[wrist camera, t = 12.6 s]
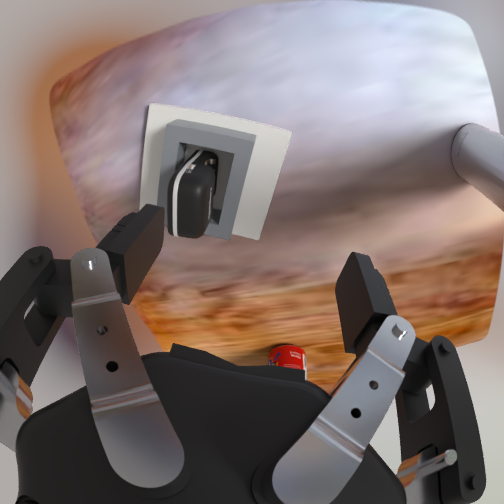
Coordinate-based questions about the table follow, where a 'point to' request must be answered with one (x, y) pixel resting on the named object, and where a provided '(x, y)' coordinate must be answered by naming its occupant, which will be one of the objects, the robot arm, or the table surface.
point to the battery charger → (192, 195)
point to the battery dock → (229, 168)
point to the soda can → (288, 357)
